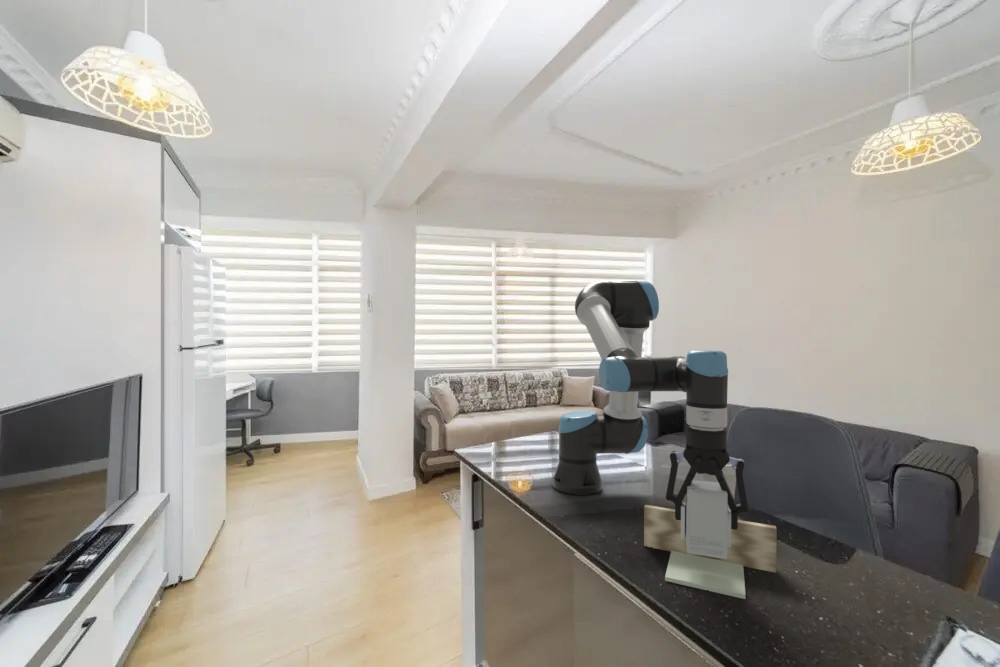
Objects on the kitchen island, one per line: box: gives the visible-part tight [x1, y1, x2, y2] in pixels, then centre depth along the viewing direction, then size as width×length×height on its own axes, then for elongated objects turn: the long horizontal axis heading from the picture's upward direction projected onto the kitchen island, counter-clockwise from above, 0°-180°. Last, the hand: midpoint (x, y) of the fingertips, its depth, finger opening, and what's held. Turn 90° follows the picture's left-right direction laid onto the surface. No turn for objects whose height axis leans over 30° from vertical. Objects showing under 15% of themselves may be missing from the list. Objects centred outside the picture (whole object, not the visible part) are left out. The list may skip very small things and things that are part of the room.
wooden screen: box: [643, 504, 778, 573], centre depth 100 cm, size 26×2×9 cm, turn 64°
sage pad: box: [664, 551, 746, 600], centre depth 93 cm, size 14×12×1 cm
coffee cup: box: [700, 462, 737, 509], centre depth 121 cm, size 10×10×15 cm
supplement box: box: [685, 479, 728, 559], centre depth 93 cm, size 7×7×13 cm
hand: (705, 540), depth 93 cm, fingers closed on supplement box, 8 cm apart
